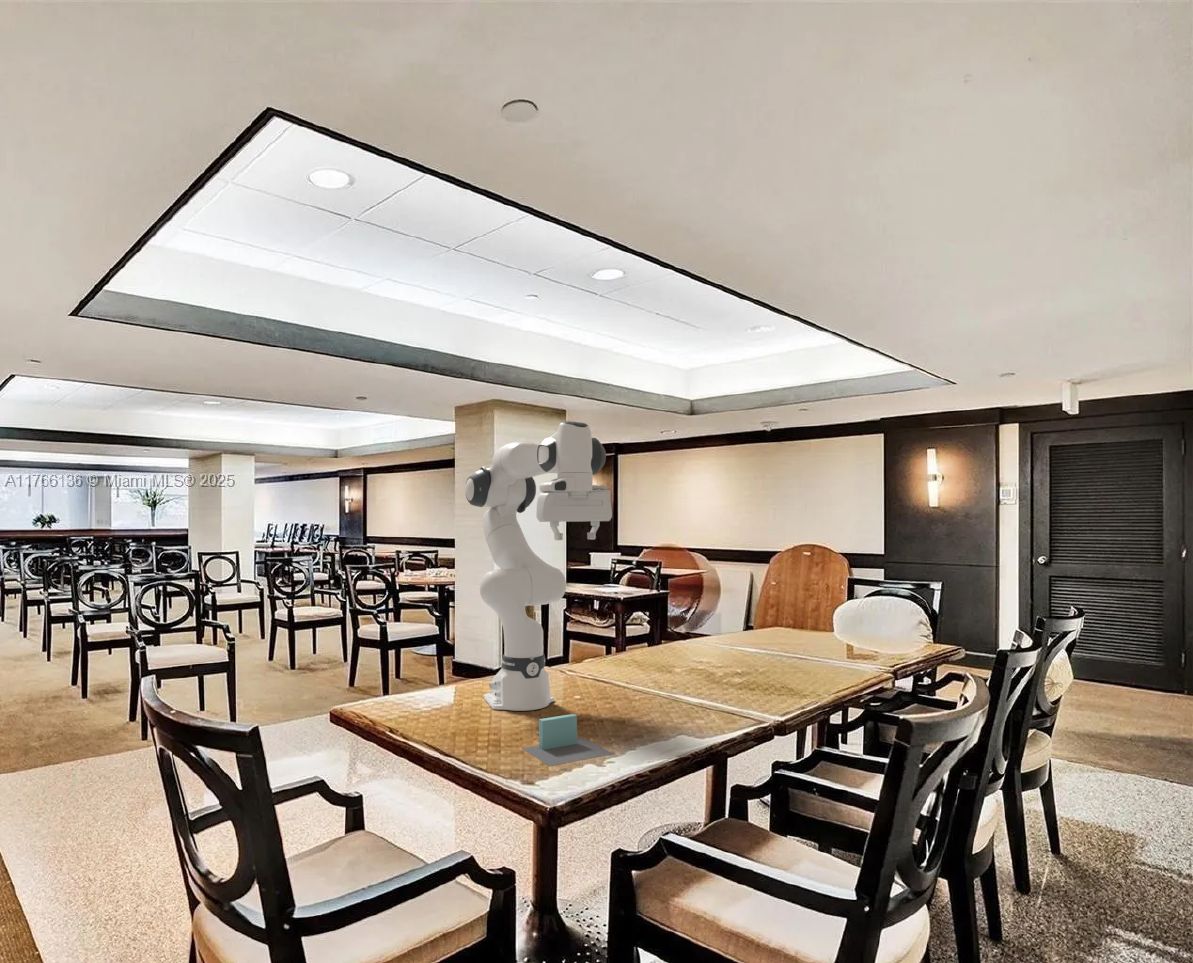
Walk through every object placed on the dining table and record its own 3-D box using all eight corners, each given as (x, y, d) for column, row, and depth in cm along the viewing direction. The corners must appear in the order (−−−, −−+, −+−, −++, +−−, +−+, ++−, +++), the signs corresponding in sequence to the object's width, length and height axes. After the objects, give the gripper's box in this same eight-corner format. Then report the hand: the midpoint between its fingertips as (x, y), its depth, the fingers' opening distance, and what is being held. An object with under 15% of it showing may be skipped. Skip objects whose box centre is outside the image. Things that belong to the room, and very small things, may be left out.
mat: (522, 751, 174) (522, 748, 174) (583, 740, 182) (583, 737, 182) (549, 768, 162) (549, 766, 162) (613, 756, 170) (613, 753, 170)
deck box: (538, 747, 174) (538, 719, 175) (573, 741, 179) (573, 713, 179) (542, 749, 173) (542, 721, 173) (577, 743, 177) (576, 715, 178)
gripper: (603, 485, 200) (604, 538, 199) (533, 484, 189) (533, 540, 189) (616, 485, 194) (616, 539, 194) (545, 484, 184) (545, 541, 183)
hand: (575, 539), depth 191 cm, fingers open, 8 cm apart
